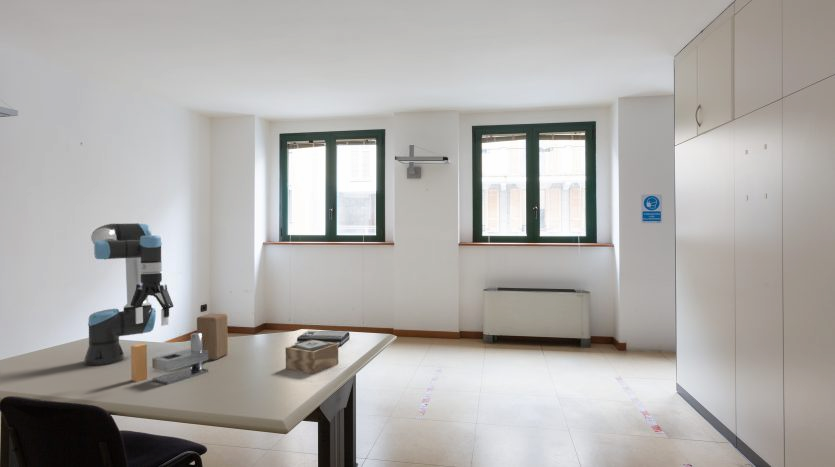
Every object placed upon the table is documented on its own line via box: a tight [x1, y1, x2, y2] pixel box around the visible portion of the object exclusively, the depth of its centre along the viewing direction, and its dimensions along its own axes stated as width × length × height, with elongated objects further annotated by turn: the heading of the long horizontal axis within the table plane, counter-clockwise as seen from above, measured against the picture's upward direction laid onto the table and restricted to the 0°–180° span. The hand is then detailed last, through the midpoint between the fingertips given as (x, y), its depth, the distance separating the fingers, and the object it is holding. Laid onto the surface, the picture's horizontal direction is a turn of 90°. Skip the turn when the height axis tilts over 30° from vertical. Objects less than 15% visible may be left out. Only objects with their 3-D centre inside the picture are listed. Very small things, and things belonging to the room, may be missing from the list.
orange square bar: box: [130, 343, 148, 382], centre depth 184 cm, size 4×4×14 cm
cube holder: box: [285, 340, 339, 375], centre depth 200 cm, size 16×16×9 cm
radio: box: [294, 330, 351, 347], centre depth 240 cm, size 24×5×20 cm
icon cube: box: [296, 340, 328, 351], centre depth 199 cm, size 10×10×10 cm
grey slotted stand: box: [151, 332, 209, 385], centre depth 188 cm, size 10×18×16 cm, turn 150°
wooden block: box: [196, 313, 229, 361], centre depth 215 cm, size 10×10×20 cm
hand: (152, 324), depth 187 cm, fingers open, 13 cm apart
